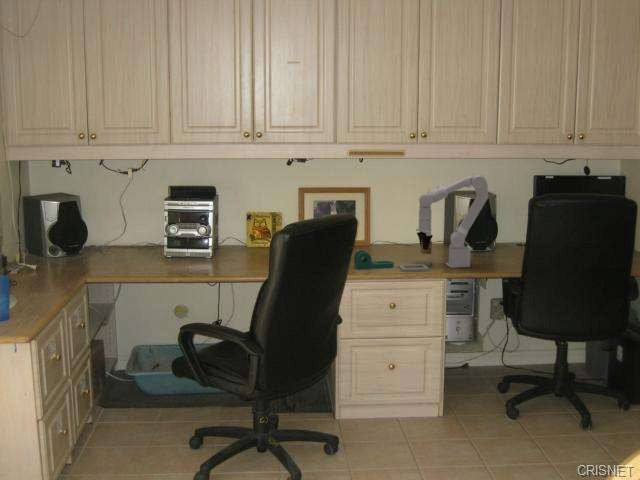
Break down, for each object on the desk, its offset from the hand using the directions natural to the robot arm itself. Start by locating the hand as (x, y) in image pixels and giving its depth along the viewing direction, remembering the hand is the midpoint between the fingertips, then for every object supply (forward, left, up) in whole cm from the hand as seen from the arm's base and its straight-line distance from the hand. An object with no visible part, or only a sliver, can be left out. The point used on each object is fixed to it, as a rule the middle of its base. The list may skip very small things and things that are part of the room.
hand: (424, 248), depth 325 cm
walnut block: (-1, 0, -2) cm, 2 cm away
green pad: (0, 0, -8) cm, 8 cm away
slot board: (+7, +8, -8) cm, 13 cm away
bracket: (+24, +1, -8) cm, 25 cm away
